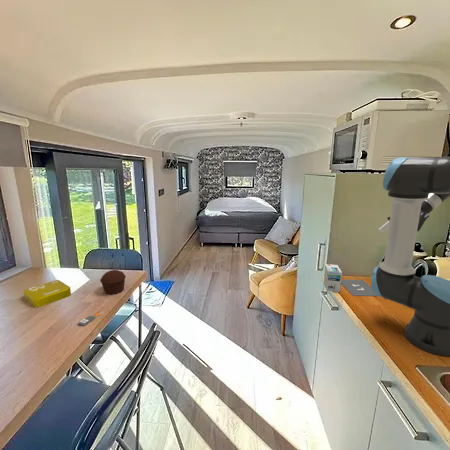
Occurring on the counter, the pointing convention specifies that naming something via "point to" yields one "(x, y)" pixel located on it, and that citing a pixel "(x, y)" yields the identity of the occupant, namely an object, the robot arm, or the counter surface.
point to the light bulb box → (332, 277)
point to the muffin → (113, 282)
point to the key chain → (88, 319)
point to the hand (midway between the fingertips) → (388, 234)
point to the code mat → (358, 287)
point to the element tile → (47, 293)
